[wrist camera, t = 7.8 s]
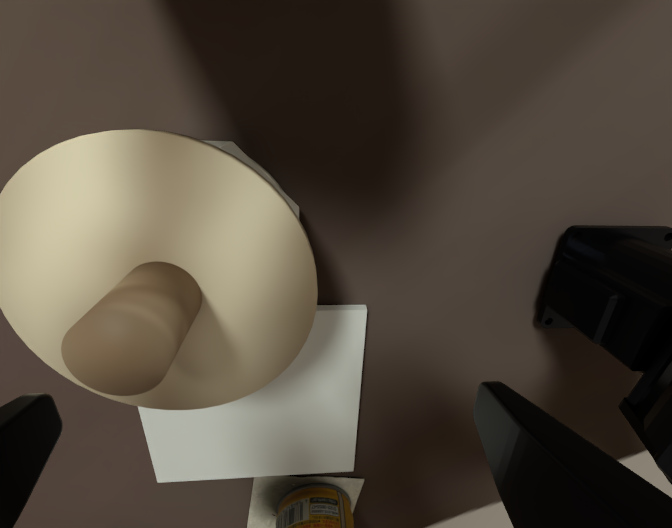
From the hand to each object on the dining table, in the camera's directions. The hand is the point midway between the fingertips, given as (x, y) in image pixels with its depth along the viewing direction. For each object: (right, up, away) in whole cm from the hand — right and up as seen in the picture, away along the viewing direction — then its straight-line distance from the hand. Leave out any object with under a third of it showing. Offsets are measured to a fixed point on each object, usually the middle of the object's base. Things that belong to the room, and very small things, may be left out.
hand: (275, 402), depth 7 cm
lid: (-5, +2, +6) cm, 8 cm away
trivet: (-4, -6, +15) cm, 17 cm away
